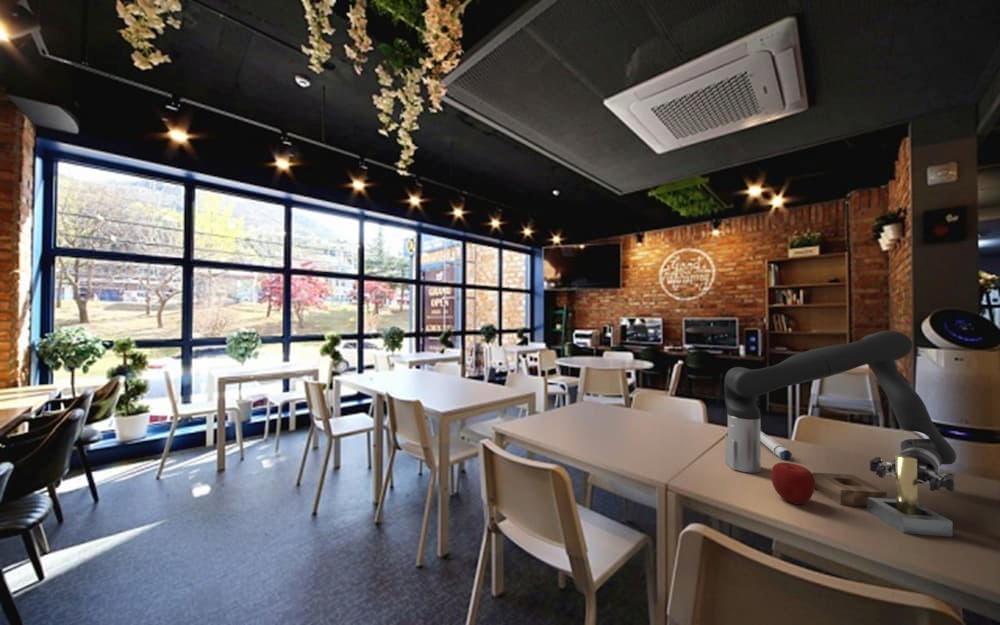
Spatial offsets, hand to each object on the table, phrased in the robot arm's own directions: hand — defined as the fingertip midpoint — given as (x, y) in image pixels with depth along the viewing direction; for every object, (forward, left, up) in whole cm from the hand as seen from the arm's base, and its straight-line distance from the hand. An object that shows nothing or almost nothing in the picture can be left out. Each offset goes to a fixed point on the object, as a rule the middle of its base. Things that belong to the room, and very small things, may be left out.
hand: (905, 480), depth 90 cm
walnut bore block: (-3, +14, -11) cm, 18 cm away
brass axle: (+1, +1, -11) cm, 11 cm away
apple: (-20, +9, -11) cm, 24 cm away
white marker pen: (-4, +53, -12) cm, 54 cm away
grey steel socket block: (+1, +1, -11) cm, 11 cm away
